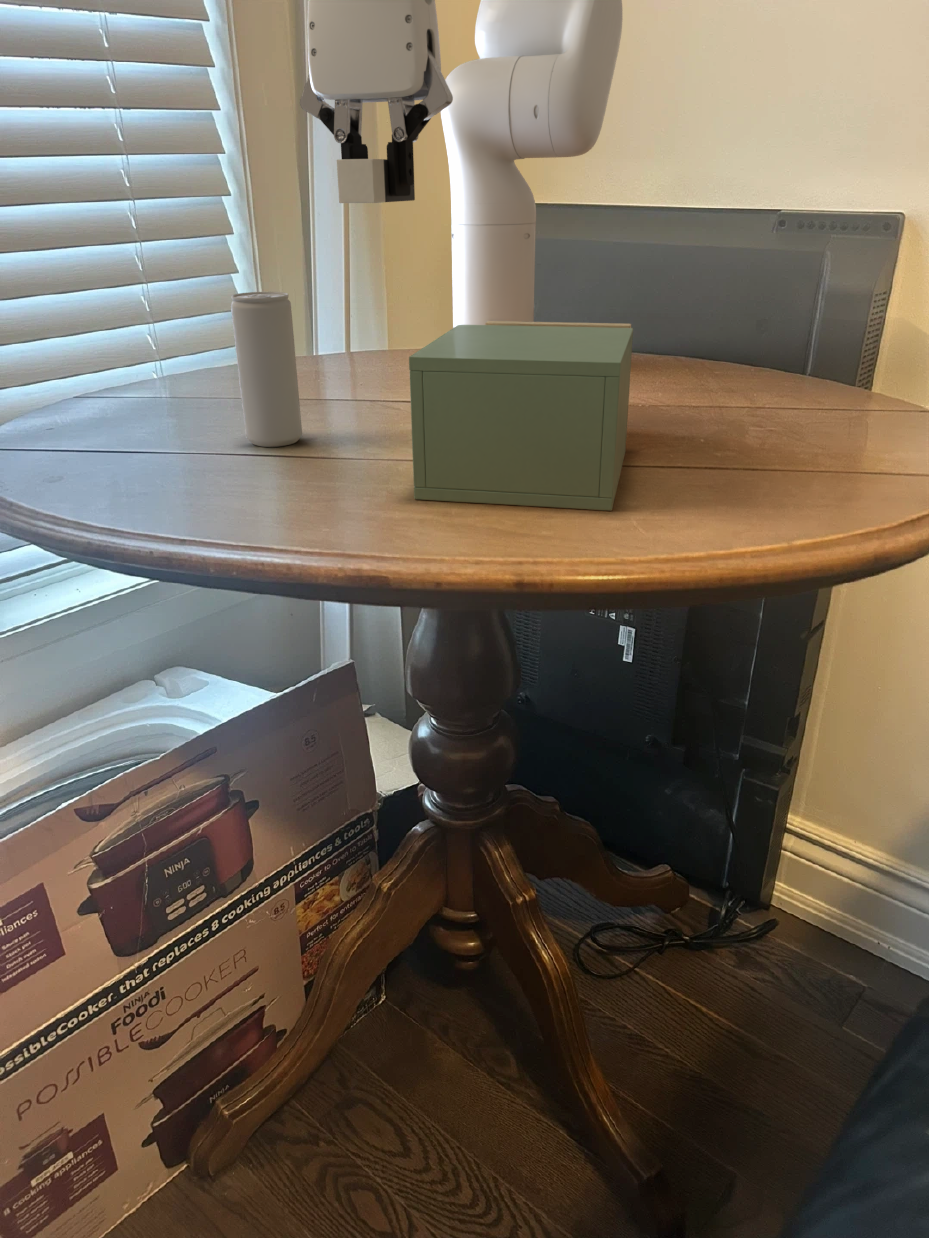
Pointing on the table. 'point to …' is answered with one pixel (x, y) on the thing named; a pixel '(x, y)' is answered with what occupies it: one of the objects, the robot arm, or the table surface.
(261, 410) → the beverage can
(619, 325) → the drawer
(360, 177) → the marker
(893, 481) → the table surface
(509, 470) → the cabinet
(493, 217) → the robot arm
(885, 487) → the table surface
